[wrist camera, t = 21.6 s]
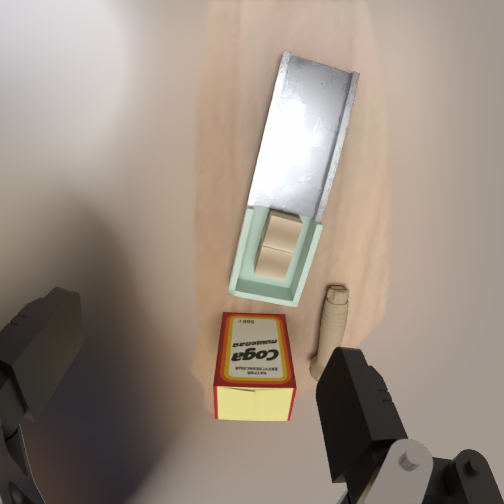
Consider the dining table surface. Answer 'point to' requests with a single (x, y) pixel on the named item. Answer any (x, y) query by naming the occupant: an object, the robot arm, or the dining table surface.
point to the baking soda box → (254, 368)
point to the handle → (330, 328)
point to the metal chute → (302, 137)
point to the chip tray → (263, 287)
